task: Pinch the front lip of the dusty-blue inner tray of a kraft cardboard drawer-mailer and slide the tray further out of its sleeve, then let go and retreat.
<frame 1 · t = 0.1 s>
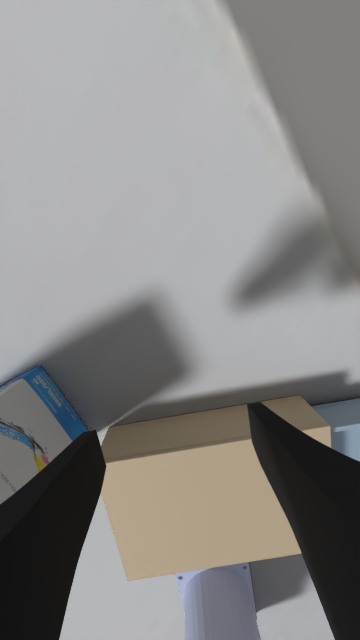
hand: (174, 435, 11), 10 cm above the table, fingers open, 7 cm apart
ink box: (31, 419, 22), on the table
tray: (296, 470, 21), point 2 cm above the table, slide at 7.0 cm
sleeve: (212, 464, 23), on the table
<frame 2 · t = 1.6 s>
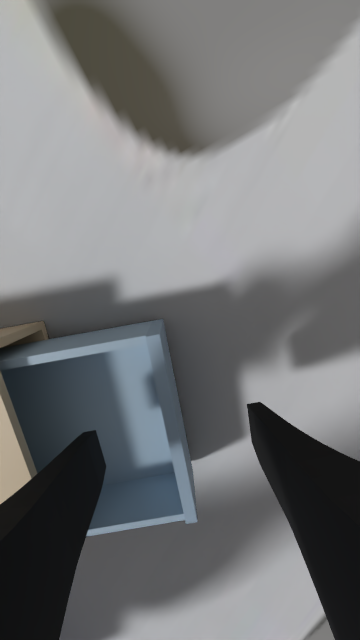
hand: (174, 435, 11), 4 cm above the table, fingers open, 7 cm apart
tray: (22, 443, 13), point 2 cm above the table, slide at 7.0 cm
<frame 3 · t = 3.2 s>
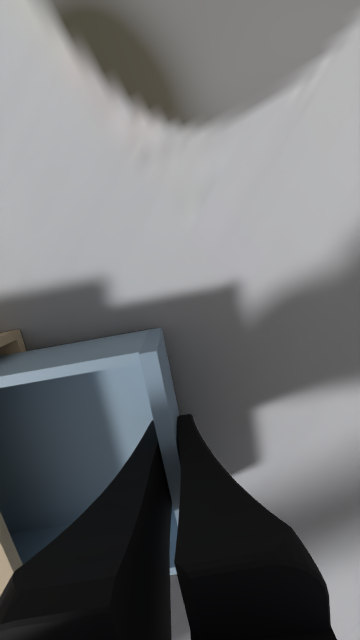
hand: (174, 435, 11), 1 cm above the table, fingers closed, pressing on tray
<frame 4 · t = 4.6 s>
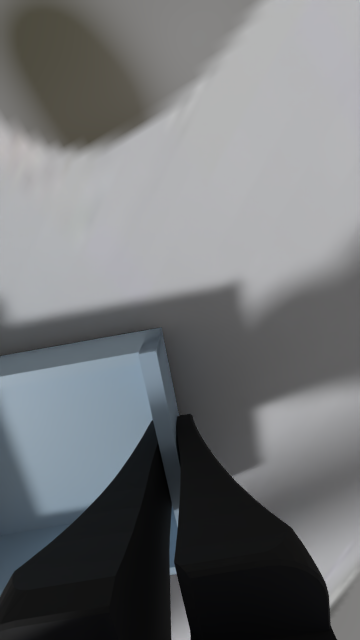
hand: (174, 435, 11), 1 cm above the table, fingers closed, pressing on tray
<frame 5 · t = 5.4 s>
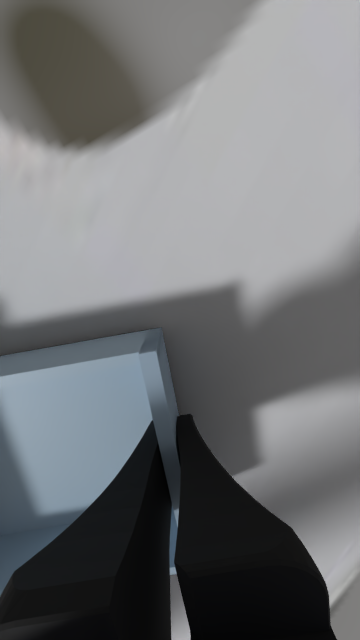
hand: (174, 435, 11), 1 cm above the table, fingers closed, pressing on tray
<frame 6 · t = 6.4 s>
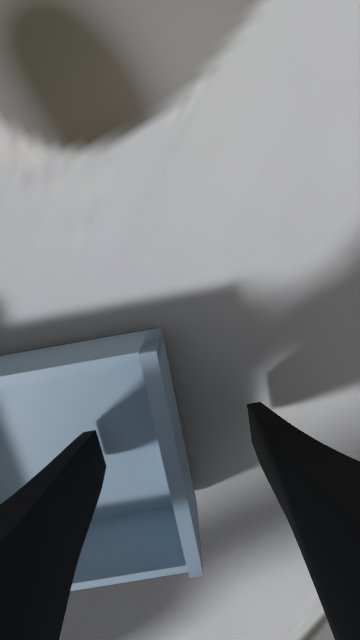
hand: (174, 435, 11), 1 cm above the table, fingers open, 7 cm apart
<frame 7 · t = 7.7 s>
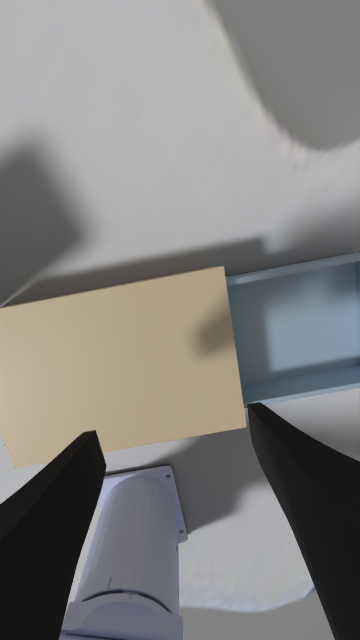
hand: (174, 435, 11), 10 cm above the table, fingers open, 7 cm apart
tray: (268, 335, 19), point 2 cm above the table, slide at 12.0 cm
sleeve: (123, 353, 21), on the table
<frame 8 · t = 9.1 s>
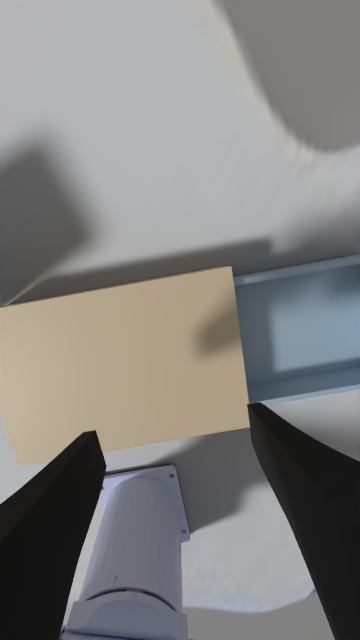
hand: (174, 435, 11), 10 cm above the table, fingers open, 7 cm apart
tray: (274, 335, 19), point 2 cm above the table, slide at 12.0 cm
sleeve: (128, 352, 21), on the table
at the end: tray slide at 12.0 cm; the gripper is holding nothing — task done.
